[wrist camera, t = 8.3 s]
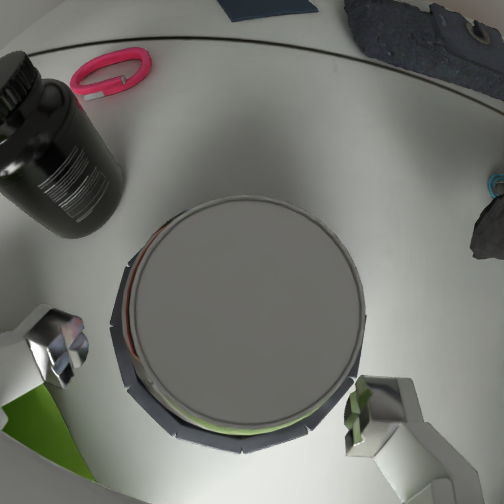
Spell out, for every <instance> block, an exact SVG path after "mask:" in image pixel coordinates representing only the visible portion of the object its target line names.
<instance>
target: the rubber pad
mask: <svg viewBox="0 0 504 504" xmlns="http://www.w3.org/2000/svg"><path fill="white" fill-rule="evenodd" d="M217 1H218V2H219V4H220V5H221V6H222V8H223V9H224V11H225V12H226V14H227V15H228V17H229V18H230V19H231V21H232V22H236V21H242V20H248V19H254V18H261V17H269V16H277V15H286V14H297V13H310V12H318V9H317V8H316V7H315V6H314V5H313V4H312V3H311V2H310V1H308V0H217Z"/></svg>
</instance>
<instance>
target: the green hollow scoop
mask: <svg viewBox="0 0 504 504" xmlns="http://www.w3.org/2000/svg"><path fill="white" fill-rule="evenodd" d="M1 408H2V409H3V411H4V412H5V414H6V415H7V417H8V422H7V423H6V425H5V426H4V428H3V429H2V431H3V432H5V433H6V434H8V435H9V436H11V437H12V438H14V439H15V440H17V441H19V442H20V443H22V444H23V445H25V446H27V447H28V448H30V449H32V450H33V451H35V452H37V453H38V454H40V455H42V456H44V457H45V458H47V459H49V460H51V461H53V462H54V463H56V464H58V465H60V466H62V467H64V468H66V469H68V470H70V471H72V472H74V473H76V474H78V475H80V476H82V477H84V478H86V479H89V480H91V481H93V482H95V483H97V482H96V481H95V479H94V478H93V476H92V474H91V472H90V471H89V469H88V467H87V466H86V464H85V462H84V460H83V458H82V457H81V455H80V453H79V451H78V449H77V447H76V445H75V443H74V441H73V439H72V437H71V435H70V433H69V431H68V428H67V426H66V424H65V422H64V420H63V418H62V416H61V414H60V412H59V410H58V408H57V406H56V404H55V402H54V400H53V398H52V397H51V395H50V393H49V392H48V390H47V389H46V388H45V386H44V385H43V384H41V385H39V386H37V387H35V388H34V389H32V390H30V391H28V392H27V393H25V394H23V395H21V396H20V397H18V398H16V399H14V400H12V401H11V402H9V403H7V404H5V405H4V406H2V407H1Z"/></svg>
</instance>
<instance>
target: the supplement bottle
mask: <svg viewBox="0 0 504 504" xmlns="http://www.w3.org/2000/svg"><path fill="white" fill-rule="evenodd" d="M123 185H124V181H123V174H122V170H121V168H120V166H119V164H118V163H117V161H116V159H115V158H114V156H113V155H112V153H111V152H110V150H109V149H108V147H107V145H106V144H105V142H104V141H103V139H102V138H101V136H100V135H99V133H98V131H97V130H96V128H95V127H94V125H93V124H92V122H91V120H90V119H89V117H88V116H87V114H86V112H85V111H84V109H83V108H82V106H81V104H80V103H79V101H78V99H77V98H76V96H75V95H74V93H73V92H72V90H71V89H70V88H69V86H68V85H66V84H65V83H63V82H61V81H59V80H55V79H41V74H40V73H39V71H38V70H37V68H36V67H34V66H33V64H32V62H31V61H30V59H29V58H28V56H27V54H26V53H25V52H23V51H15V52H12V53H10V54H7V55H5V56H4V57H1V58H0V193H1V194H2V195H3V196H5V197H6V198H7V199H8V200H10V201H11V202H12V203H13V204H15V205H16V206H17V207H18V208H20V209H21V210H22V211H24V212H25V213H26V214H28V215H29V216H30V217H32V218H33V219H34V220H36V221H37V222H38V223H40V224H41V225H42V226H44V227H45V228H46V229H48V230H49V231H51V232H52V233H54V234H55V235H57V236H59V237H61V238H65V239H78V238H82V237H85V236H88V235H90V234H92V233H93V232H95V231H97V230H98V229H99V228H101V227H102V226H103V225H104V224H105V223H106V222H107V221H108V220H109V219H110V217H111V216H112V215H113V213H114V212H115V210H116V208H117V206H118V205H119V202H120V200H121V197H122V193H123Z"/></svg>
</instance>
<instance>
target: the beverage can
mask: <svg viewBox="0 0 504 504" xmlns="http://www.w3.org/2000/svg"><path fill="white" fill-rule="evenodd" d="M122 327H123V336H124V340H125V344H126V348H127V351H128V355H129V357H130V360H131V362H132V364H133V366H134V368H135V370H136V372H137V374H138V376H139V378H140V379H141V380H142V382H143V383H144V385H145V386H146V387H147V389H148V390H149V391H150V393H151V394H152V395H153V396H154V397H155V398H156V399H157V400H158V401H159V402H160V403H161V404H162V405H163V406H165V407H166V408H167V409H168V410H170V411H171V412H173V413H174V414H176V415H177V416H179V417H180V418H182V419H183V420H185V421H187V422H189V423H192V424H194V425H196V426H199V427H201V428H203V429H206V430H210V431H215V432H219V433H224V434H233V435H253V434H260V433H267V432H272V431H275V430H278V429H281V428H284V427H287V426H290V425H292V424H294V423H296V422H298V421H300V420H302V419H303V418H305V417H307V416H309V415H310V414H312V413H313V412H314V411H315V410H317V409H318V408H319V407H320V406H322V405H323V404H324V403H325V402H326V401H327V400H328V399H329V398H330V397H331V396H332V395H333V393H334V392H335V391H336V390H337V389H338V388H339V386H340V385H341V384H342V383H343V381H344V380H345V378H346V377H347V375H348V373H349V372H350V370H351V368H352V367H353V365H354V363H355V360H356V358H357V355H358V352H359V350H360V347H361V344H362V339H363V333H364V328H365V300H364V293H363V286H362V283H361V280H360V277H359V274H358V271H357V268H356V266H355V264H354V262H353V260H352V258H351V256H350V254H349V253H348V251H347V249H346V248H345V247H344V245H343V244H342V243H341V241H340V240H339V239H338V237H337V236H336V235H335V234H334V233H333V232H332V231H331V230H330V229H329V228H328V227H327V226H326V225H325V224H324V223H323V222H322V221H320V220H319V219H317V218H316V217H314V216H313V215H311V214H310V213H309V212H307V211H306V210H304V209H301V208H299V207H297V206H295V205H293V204H291V203H288V202H285V201H282V200H278V199H275V198H271V197H265V196H256V195H237V196H227V197H223V198H219V199H214V200H210V201H206V202H203V203H200V204H198V205H196V206H193V207H191V208H189V209H186V210H184V211H183V212H181V213H179V214H178V215H176V216H175V217H173V218H172V219H170V220H169V221H167V222H166V223H165V224H164V225H163V226H162V227H161V228H160V229H158V230H157V231H156V232H155V233H154V234H153V235H152V236H151V238H150V239H149V240H148V241H147V243H146V244H145V245H144V247H143V248H142V249H141V251H140V252H139V254H138V256H137V258H136V260H135V262H134V264H133V266H132V268H131V270H130V272H129V276H128V279H127V282H126V286H125V289H124V294H123V303H122Z"/></svg>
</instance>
